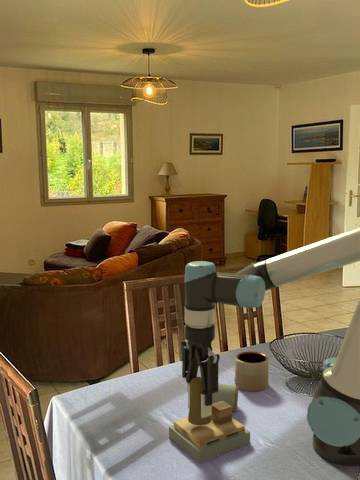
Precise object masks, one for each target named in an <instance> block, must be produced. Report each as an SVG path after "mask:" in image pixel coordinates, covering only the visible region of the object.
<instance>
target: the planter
mask: <svg viewBox="0 0 360 480" xmlns="http://www.w3.org/2000/svg"><path fill="white" fill-rule="evenodd" d="M234 361H235V362H234V364H235V366H234V386H236V387H238V389H240V390H242V391H244V392H251V393H253V392H260V391H265V389H266V390H267V388H268V387H269V378H270V377H269V372H270V371H269V369H270V367H269V366H270V364H269V363H270V361H269V356H268V355H267V354H264V353H263V352H260V351H249V350H248V351H242V352H241V351H240V352H239V353H237V354H236V355H235V360H234Z"/></svg>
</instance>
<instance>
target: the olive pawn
mask: <svg viewBox="0 0 360 480" xmlns="http://www.w3.org/2000/svg"><path fill="white" fill-rule="evenodd" d="M189 387H190V390H191V391H192V393H191V400H190V408H188V416H187V417H188V421H189V422H190V423H191V424H193V425H206V424H208V423H210V422H211V416H208V417H205V418H202V417H201V392H203V386H202V379H201V376H197V377H195V378H193V379H191V381H190V384H189Z"/></svg>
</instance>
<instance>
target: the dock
mask: <svg viewBox="0 0 360 480" xmlns="http://www.w3.org/2000/svg"><path fill="white" fill-rule="evenodd" d="M168 438H169V439H171V440H172V441H173V443H175V444H176V445H178V446H179V447H180V448H181V449H182V450H184V451H185V452H186V453H187V454H188V455H189V456H190V457H192V459H194V460H196V462H197V463H199V464H200V463H202V462H205V461H208V460H211V459H213V458H215V457H219V456H220V455H223V454H225V453H227V452H231V451H232V450H236V449H238V448H241V447H243V446H246V445H248V444H251V431H249V430H247V429H246V428H245V432H242V433H239V434H238V433H237V432H234V433H232V434H229V435H226V439H223V440H221V441H220V440H218V439H215V440H213V441H210V442H207V446H205V447H202V448H199V447H198V446H197V445H196V444H195V443H193V442H192V441H191V440H190V439H188V438H187V437H186V436H185V435H183V434H182V433H181V432H180V431H178V430H177V429H176V428H175V427H174V424H172V425H170V426H168Z"/></svg>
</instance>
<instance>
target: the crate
mask: <svg viewBox="0 0 360 480" xmlns="http://www.w3.org/2000/svg"><path fill="white" fill-rule="evenodd" d="M232 418H233V411H232V406H231V405H229V404H228V403H226V402H224V401H220V402H216V403H213V404H212V415H211V419H212V420H214V421H215V422H216V423H218V424H219V425H221V424H224V423H227V422H230V421H232Z"/></svg>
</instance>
